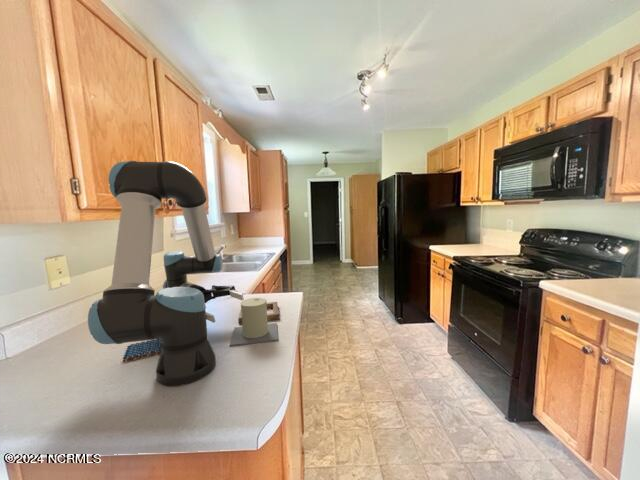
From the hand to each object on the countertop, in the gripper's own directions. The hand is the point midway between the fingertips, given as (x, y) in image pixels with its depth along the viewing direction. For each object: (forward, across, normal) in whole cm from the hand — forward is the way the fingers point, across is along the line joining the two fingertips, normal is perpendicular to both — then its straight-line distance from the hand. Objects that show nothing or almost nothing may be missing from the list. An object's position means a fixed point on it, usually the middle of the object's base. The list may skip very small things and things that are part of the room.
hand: (228, 307), depth 98 cm
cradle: (-2, -15, -16) cm, 22 cm away
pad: (+10, -1, -10) cm, 14 cm away
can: (+10, -1, -9) cm, 13 cm away
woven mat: (-14, +25, -5) cm, 29 cm away
